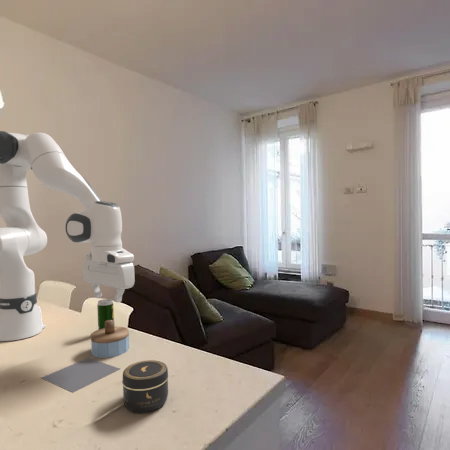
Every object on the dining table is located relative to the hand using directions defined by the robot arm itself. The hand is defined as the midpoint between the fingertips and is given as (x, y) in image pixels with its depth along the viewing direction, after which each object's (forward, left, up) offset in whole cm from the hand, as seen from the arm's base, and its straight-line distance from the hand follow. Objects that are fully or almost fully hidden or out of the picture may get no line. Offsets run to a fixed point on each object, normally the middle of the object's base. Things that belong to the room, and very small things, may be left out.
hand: (107, 299), depth 104 cm
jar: (+30, -14, -17) cm, 37 cm away
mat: (+6, -14, -17) cm, 22 cm away
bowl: (0, 0, -17) cm, 17 cm away
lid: (0, 0, -12) cm, 12 cm away
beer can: (-15, +10, -17) cm, 24 cm away
